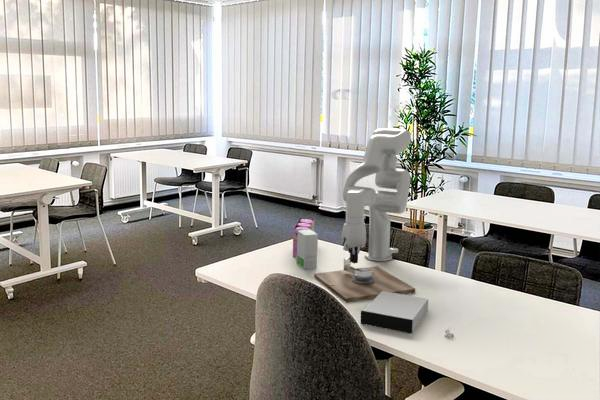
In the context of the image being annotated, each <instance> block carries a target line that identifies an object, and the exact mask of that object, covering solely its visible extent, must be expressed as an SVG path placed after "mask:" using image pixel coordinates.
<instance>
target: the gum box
mask: <svg viewBox="0 0 600 400" xmlns="http://www.w3.org/2000/svg"><path fill="white" fill-rule="evenodd" d="M309 229H310V230H312V231H314V232H315V218H311V219H309V218H308V219H304V218H303V217H300V218H299V219H298V220H297V222H296V224H295V225H294V227H293V228H292V257H293V258H297V239H298V231H300V230H309Z"/></svg>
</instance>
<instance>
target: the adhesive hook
mask: <svg viewBox="0 0 600 400" xmlns="http://www.w3.org/2000/svg"><path fill="white" fill-rule="evenodd" d="M451 331H452V330H451V328H450V327H449V326H447V327H446V329H445V333H444V335H443V336H444V337H449V338H452V336H453V337H455V335H454V333H453V332H451Z"/></svg>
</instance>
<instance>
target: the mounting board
mask: <svg viewBox="0 0 600 400" xmlns="http://www.w3.org/2000/svg"><path fill="white" fill-rule="evenodd" d="M365 268H367V269H370V270H372V271H373V274H372V279H371V280H368V281H360V280H356V279H355V278H354V277H353V273H351V272H349V271H344V269H343V270H334V271H326V272H317V273H314V274H313V277H314V279H316V281H318V282H319V283H320V284H322V285H324V286H325V288H327V289H328V290H329V291H331V292H332V293H333V294H334V295H336V297H338V298H340V300H341V301H343V302H345V303H350V302H358V301H363V300H374V299H375V298H376V297H377V296H378V295H379V294H380V293H381V292H382V291H385V292H391V293H397V294H403V295H408V294H414V293H416V288H415V287H413V286H412V285H410V284H408V283H407V282H404V281H403V280H401V279H399V278H398V277H396V276H395V275H393V274H391V273H390V272H388V271H386V270H385V269H383V268H382V267H380V266H379V265H377V266H376V265H375V266H367V267H365Z"/></svg>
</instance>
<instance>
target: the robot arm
mask: <svg viewBox="0 0 600 400" xmlns="http://www.w3.org/2000/svg"><path fill="white" fill-rule="evenodd" d="M411 139H412V135H411V132H410V131H409V130H408V129H404V128H390V127H389V128H386V127H380V128H376V129H375V130H374V131H373V133H372V135H371V136H370V138H369V140H368V142H367V146H366V149H365V151H364V155H363V159H362V162H361V164H360V165H358V166H357V167H355V169H353V170H352V171H351V172H349V173H350V174H348V176H347V178H346V180H345V183H344V187H343V190H342V191H343V192H342V199H343V201H344V202H345V222H344V223H343V226H342V232H341V243H340V244H341V246H343V247H342V248H343V249H342V250H343V251H346V252H348V253H349V258H351V264H358V260H359V254H360V252H361V250H362V249H363V248H365V247H366V243H367V230H366V229H367V227H366V223H365V220H366V216H365V207H367V206H368V212H369V213H368V214H369V223H368V224H369V226H368V252H366V253H365V254H364V258H365V259H367V260H369V261H373V262H388V261H390V260H392V259H393V255H392V254H396V253H399V248H393V247H390V238H391V237H390V236H391V235H390V234H391V220H390V216H389V215H388V214H387V213H389V214H396V215H398V214H399V215H401V214H403V213H405V211H406V209H407V204H408V200H409V199H408V198H409V192H410V186H411V175H410V172H409V171H408V170H407V169H404V168H397V162H398V158H397V155H400V154H401V153H402V152H404V151H405V150H407V148H408V147H409V146H410V144H411ZM374 174H375V178H374V184H375V186H376V187H378V188H381V189H387V190H375V189H374V188H372V187H365V186H359V185H356V184H357V183H358V182H359V181H360V180H362V179H363V178H365V177H368V176H371V175H374ZM388 189H389V190H396V191H389V190H388Z"/></svg>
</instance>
